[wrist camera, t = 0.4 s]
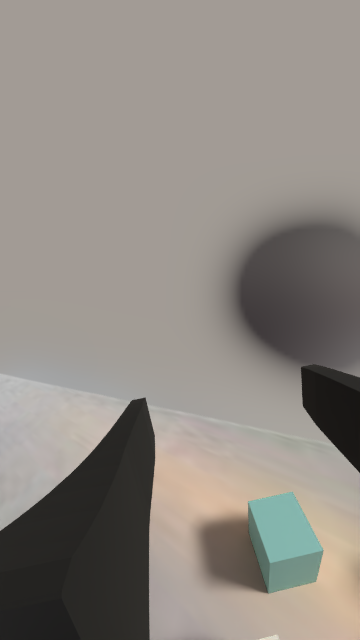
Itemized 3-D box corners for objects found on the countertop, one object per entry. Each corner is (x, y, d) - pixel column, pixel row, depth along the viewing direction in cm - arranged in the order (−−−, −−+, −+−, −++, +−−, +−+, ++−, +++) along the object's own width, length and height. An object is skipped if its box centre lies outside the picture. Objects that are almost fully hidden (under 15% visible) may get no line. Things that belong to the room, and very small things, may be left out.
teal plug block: (316, 581, 19) (323, 550, 17) (268, 593, 19) (270, 563, 17) (289, 523, 23) (292, 491, 21) (248, 532, 22) (248, 501, 20)
